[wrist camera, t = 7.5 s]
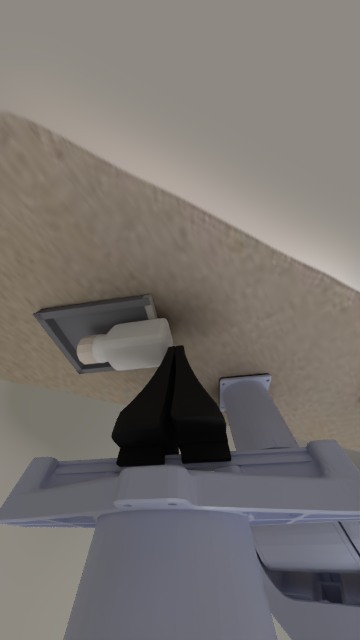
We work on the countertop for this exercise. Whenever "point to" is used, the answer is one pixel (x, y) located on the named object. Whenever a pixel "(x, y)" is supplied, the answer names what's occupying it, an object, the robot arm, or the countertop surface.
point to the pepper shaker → (128, 345)
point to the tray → (92, 324)
